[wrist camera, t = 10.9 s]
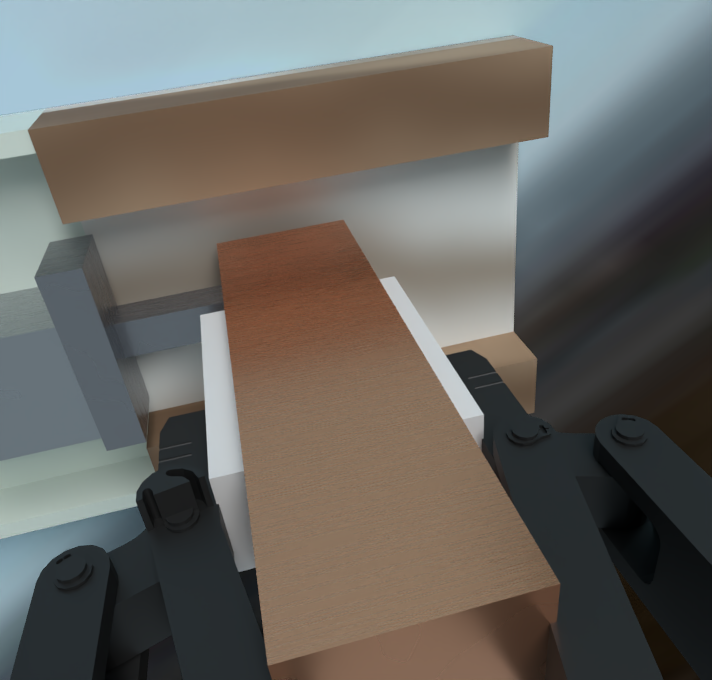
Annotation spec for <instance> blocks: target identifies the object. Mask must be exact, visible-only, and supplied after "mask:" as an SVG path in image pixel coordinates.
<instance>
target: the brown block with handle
mask: <svg viewBox="0 0 712 680" xmlns="http://www.w3.org/2000/svg"><path fill="white" fill-rule="evenodd" d="M217 251H218V260H219V268H220V276H221V285H219V286H214V287H209V288H204V289H199V290H194V291H189V292H184V293H179V294H174V295H169V296H164V297H159V298H154V299H149V300H144V301H139V302H133V303H128V304H123V305H118V306H117V303H116V300H115V297H114V295H113V292H112V289H111V286H110V283H109V280H108V277H107V275H106V272H105V269H104V266H103V263H102V260H101V258H100V255H99V252H98V249H97V246H96V243H95V240H94V238H93V235H92V234H91V235H86V236H80V237H75V238H69V239H64V240H58V241H53V242H50V243H49V245H48V247H47V249H46V252H45V254H44V256H43V259H42V261H41V263H40V265H39V268H38V270H37V272H36V274H35V277H34V278H35V281H36V283H37V286H38V288H39V290H40V293H41V295H42V297H43V300H44V302H45V305H46V307H47V309H48V312H49V314H50V317H51V319H52V321H53V324H54V326H55V328H56V331H57V333H58V336H59V338H60V340H61V343H62V345H63V348H64V350H65V352H66V355H67V357H68V359H69V362H70V364H71V367H72V369H73V371H74V374H75V376H76V379H77V381H78V383H79V386H80V388H81V391H82V393H83V395H84V398H85V400H86V402H87V405H88V407H89V410H90V412H91V414H92V417H93V419H94V422H95V424H96V426H97V429H98V431H99V433H100V436H101V438H102V441H103V443H104V445H105V448H106V450H107V451H109V450H114V449H118V448H123V447H127V446H131V445H136V444H140V443H145V442H146V441H147V426H148V412H149V394H148V391H147V389H146V386H145V383H144V380H143V377H142V374H141V372H140V369H139V366H138V363H137V360H136V357H135V356H137V355H142V354H147V353H152V352H156V351H161V350H166V349H171V348H176V347H180V346H185V345H190V344H195V343H199V342H202V341H201V322H200V315H203V314H208V313H213V312H218V311H223V310H225V318H226V326H227V334H228V343H229V351H230V359H231V367H232V376H233V384H234V392H235V400H236V409H237V417H238V425H239V434H240V442H241V450H242V458H243V467H244V475H245V483H246V491H247V500H248V508H249V516H250V525H251V533H252V541H253V549H254V558H255V566H256V574H257V582H258V591H259V599H260V607H261V616H262V624H263V632H264V640H265V649H266V657H267V665H268V669H269V672H270V675H271V678H272V680H545V672H546V661H547V651H548V640H549V630H550V623H553V622H556V621H557V613H558V603H559V593H560V582H559V581H558V579H557V577H556V575H555V574H554V572H553V570H552V569H551V567H550V565H549V564H548V562H547V560H546V559H545V557H544V555H543V554H542V552H541V550H540V549H539V547H538V545H537V544H536V542H535V540H534V539H533V537H532V535H531V534H530V532H529V530H528V528H527V527H526V525H525V523H524V522H523V520H522V518H521V517H520V515H519V513H518V512H517V510H516V508H515V507H514V505H513V503H512V502H511V500H510V498H509V497H508V495H507V493H506V492H505V490H504V488H503V487H502V485H501V483H500V482H499V480H498V478H497V476H496V475H495V473H494V471H493V470H492V468H491V466H490V465H489V463H488V461H487V460H486V458H485V456H484V455H483V453H482V451H481V450H480V448H479V446H478V445H477V443H476V441H475V440H474V438H473V436H472V435H471V433H470V431H469V429H468V428H467V426H466V424H465V423H464V421H463V419H462V418H461V416H460V414H459V413H458V411H457V409H456V408H455V406H454V404H453V403H452V401H451V399H450V398H449V396H448V394H447V393H446V391H445V389H444V388H443V386H442V384H441V382H440V381H439V379H438V377H437V376H436V374H435V372H434V371H433V369H432V367H431V366H430V364H429V362H428V361H427V359H426V357H425V356H424V354H423V352H422V351H421V349H420V347H419V346H418V344H417V342H416V341H415V339H414V337H413V335H412V334H411V332H410V330H409V329H408V327H407V325H406V324H405V322H404V320H403V319H402V317H401V315H400V314H399V312H398V310H397V309H396V307H395V305H394V304H393V302H392V300H391V299H390V297H389V295H388V294H387V292H386V290H385V289H384V287H383V285H382V283H381V282H380V280H379V278H378V277H377V275H376V273H375V272H374V270H373V268H372V267H371V265H370V263H369V262H368V260H367V258H366V257H365V255H364V253H363V252H362V250H361V248H360V247H359V245H358V243H357V242H356V240H355V238H354V236H353V235H352V233H351V231H350V230H349V228H348V226H347V225H346V223H345V221H344V220H338V221H333V222H328V223H323V224H317V225H312V226H307V227H302V228H296V229H291V230H286V231H281V232H275V233H270V234H265V235H259V236H254V237H249V238H244V239H238V240H233V241H228V242H223V243H217Z"/></svg>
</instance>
